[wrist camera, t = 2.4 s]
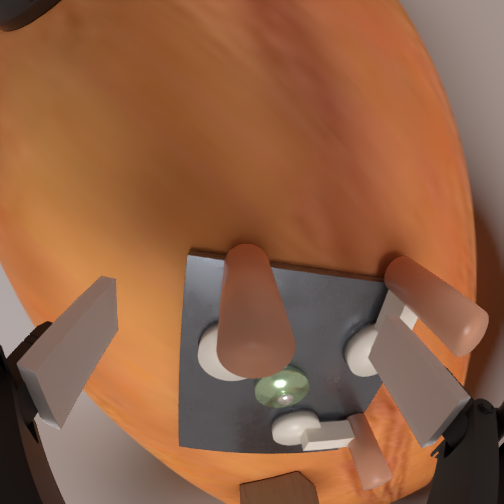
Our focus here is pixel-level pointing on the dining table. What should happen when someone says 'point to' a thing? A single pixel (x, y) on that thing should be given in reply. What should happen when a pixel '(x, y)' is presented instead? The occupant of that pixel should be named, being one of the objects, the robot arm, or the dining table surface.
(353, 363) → the knob
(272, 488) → the wooden block
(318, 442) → the knob
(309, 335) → the base plate
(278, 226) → the dining table surface
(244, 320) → the knob
